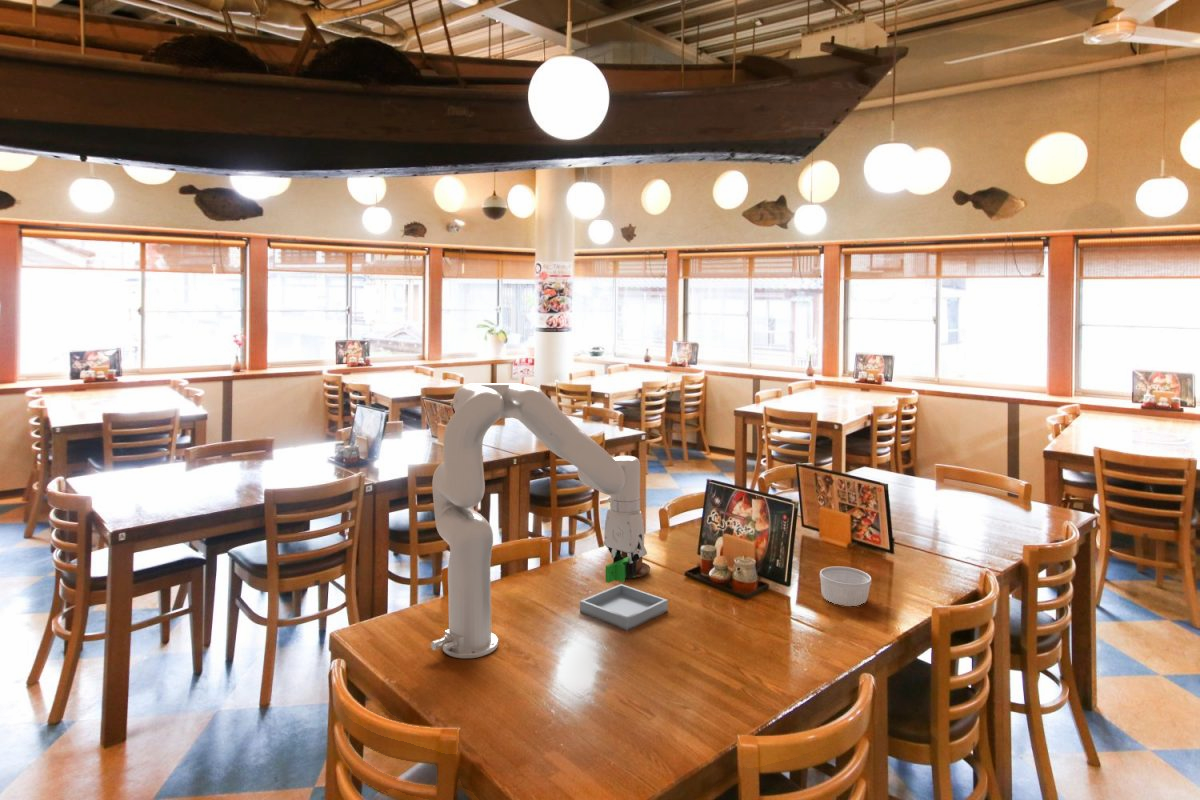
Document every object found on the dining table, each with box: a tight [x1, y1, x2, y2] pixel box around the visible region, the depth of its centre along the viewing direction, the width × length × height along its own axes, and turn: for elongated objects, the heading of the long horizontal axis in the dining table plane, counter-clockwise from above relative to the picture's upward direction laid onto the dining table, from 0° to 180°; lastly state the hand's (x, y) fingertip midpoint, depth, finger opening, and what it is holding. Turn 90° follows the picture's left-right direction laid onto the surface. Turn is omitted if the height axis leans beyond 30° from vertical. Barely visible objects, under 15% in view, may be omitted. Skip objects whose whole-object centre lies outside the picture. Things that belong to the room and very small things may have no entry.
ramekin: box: [819, 565, 872, 607], centre depth 194 cm, size 13×13×7 cm
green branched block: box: [605, 556, 635, 584], centre depth 184 cm, size 10×4×4 cm, turn 139°
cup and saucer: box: [621, 550, 651, 579], centre depth 213 cm, size 12×12×6 cm
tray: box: [579, 583, 669, 632], centre depth 185 cm, size 16×16×3 cm
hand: (624, 574), depth 184 cm, fingers closed on green branched block, 3 cm apart
